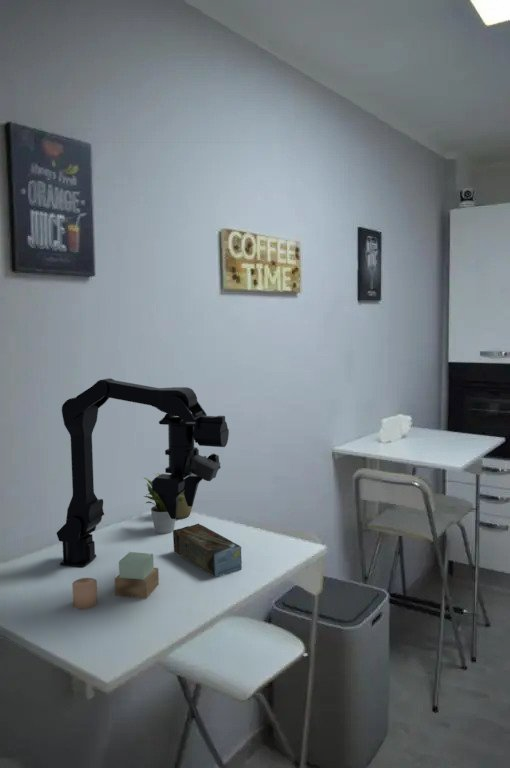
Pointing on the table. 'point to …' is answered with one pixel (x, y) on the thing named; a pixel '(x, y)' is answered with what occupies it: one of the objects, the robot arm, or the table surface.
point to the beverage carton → (207, 550)
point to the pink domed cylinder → (84, 593)
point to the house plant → (160, 512)
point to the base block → (137, 586)
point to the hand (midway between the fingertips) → (182, 512)
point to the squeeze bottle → (183, 508)
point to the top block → (136, 565)
